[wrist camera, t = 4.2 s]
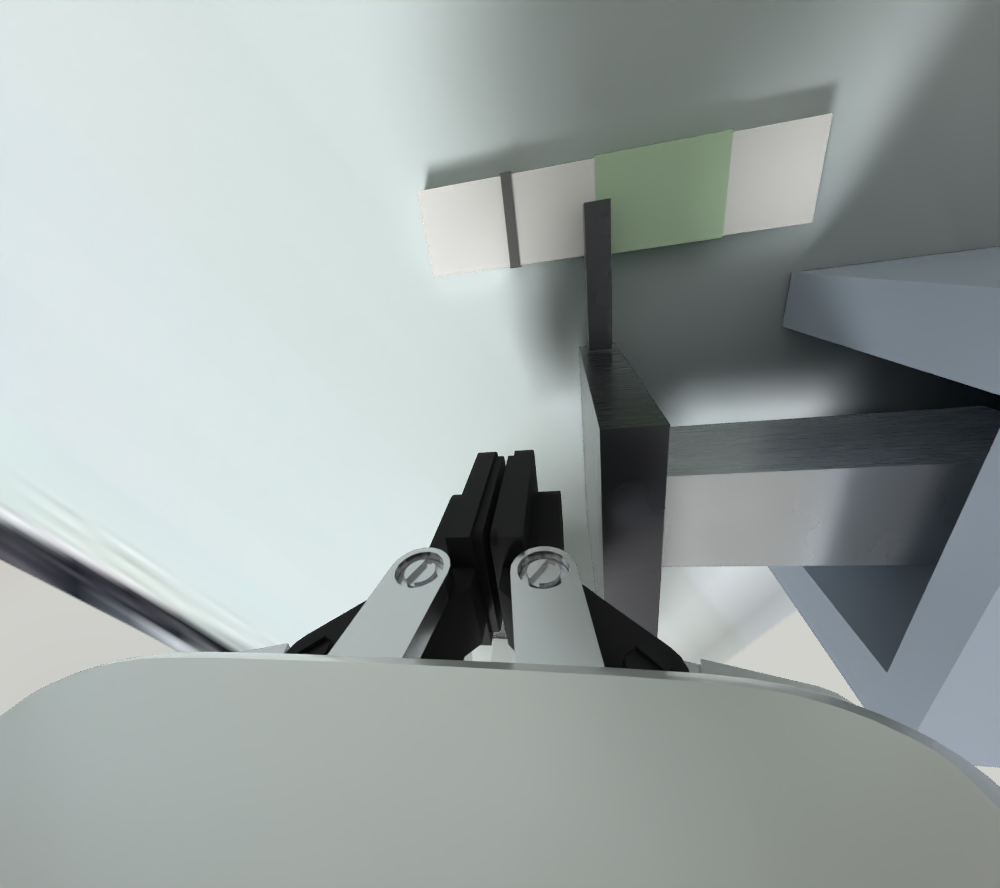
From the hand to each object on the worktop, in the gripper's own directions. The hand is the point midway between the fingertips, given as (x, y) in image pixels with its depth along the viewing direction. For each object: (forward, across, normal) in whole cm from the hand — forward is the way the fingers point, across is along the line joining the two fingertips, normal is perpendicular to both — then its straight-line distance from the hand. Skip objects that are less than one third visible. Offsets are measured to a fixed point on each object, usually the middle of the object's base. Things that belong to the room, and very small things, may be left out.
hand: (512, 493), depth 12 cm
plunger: (+4, -7, -2) cm, 9 cm away
